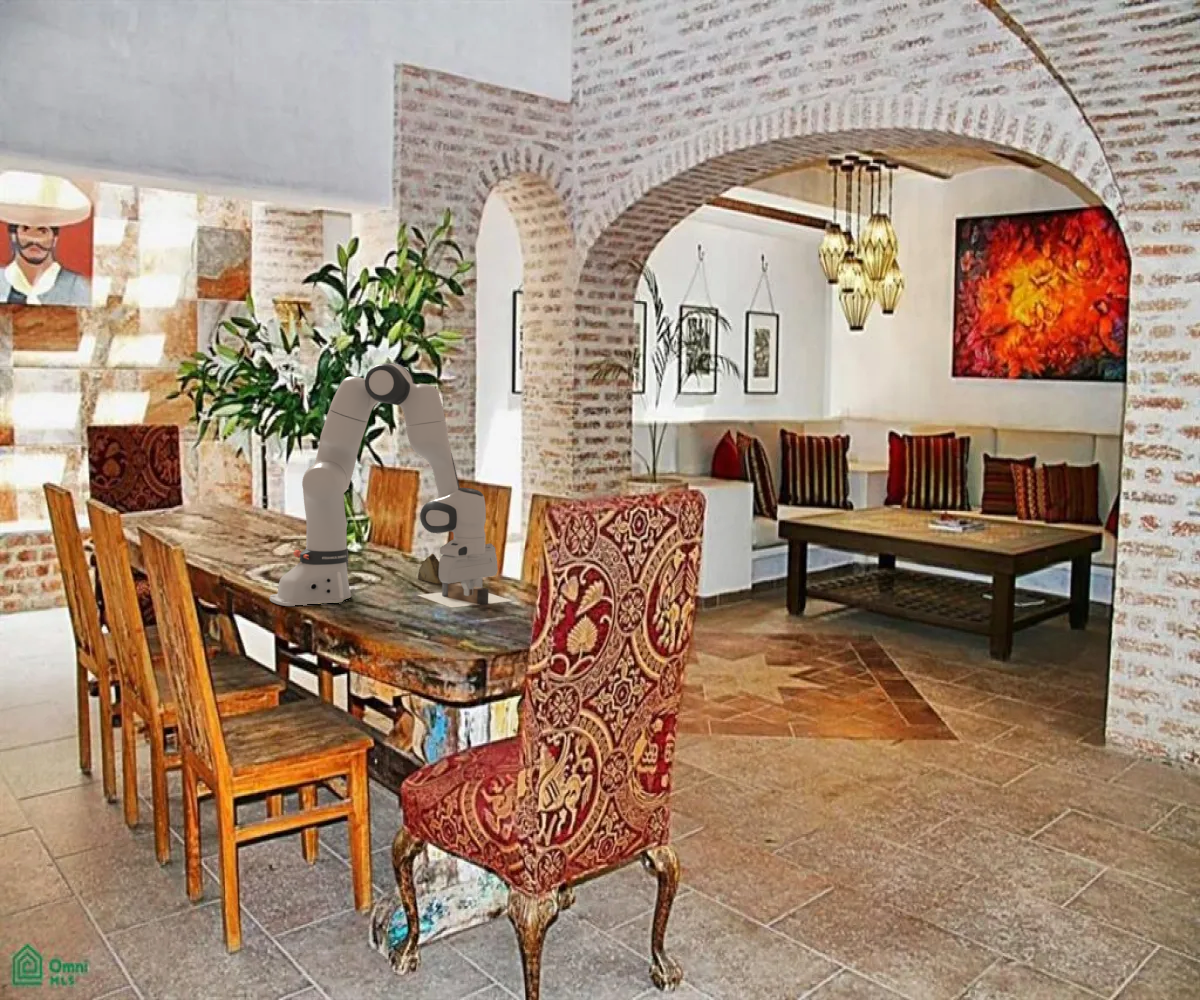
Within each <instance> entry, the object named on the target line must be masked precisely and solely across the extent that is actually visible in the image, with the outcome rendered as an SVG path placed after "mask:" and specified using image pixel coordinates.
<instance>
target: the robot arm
mask: <svg viewBox="0 0 1200 1000" xmlns="http://www.w3.org/2000/svg"><path fill="white" fill-rule="evenodd" d="M332 398H333V399H332V401H331V403H330V406H329V409H328V412H327V414H326V418H325V421H324V425H323V426H322V427H323V428H322V430H321V432H320V439H319V446H318V449H317V455H316V458H315V461H314V464H313V465H311V466H309V468H307V470H306V471H305V472H304V474H303V477H302V482H301V483H302V494H303V503H304V505H303V506H304V510H305V511H304V513H305V520H306V521H305V522H306V528H305V529H306V535H305V536H306V538H305V539H306V541H305V542H306V544H305V545H306V548H305V549H304V550H299V549H295V550H294V552H293V553H292V554H293V555H294V557H295V558H299V562H298V563H297V564H296V565H295V566H294V567H292V568H291V569H289V571H287V572H286V573H285V574H283V575H282V576H281V577H280V579H279V582H278V588H277V593H275V594H274V593H273V594H270V595H269V601H270V602H271V603H274V604H276V605H280V606H285V607H296V606H295V605H303V606H308V605H307V604H318V603H332V602H342V601H343V600H344V599H347V598H350V597H351V596H352V593H351V589H350V588H351V587H350V585H349V576H348V567H349V550H348V548H347V517H346V508H345V498H344V496H345V495H344V493H346V491H347V490H348V489H349V486H350V484H351V481H352V477H353V475H354V470H355V466H356V463H357V457H358V454H359V449H360V446H361V444H362V440H363V438H364V435H365V431H366V428H367V425H368V422H369V418H370V416H371V413H372V410H373V409H374V407H375V405H377V404H378V403H382V404H389V405H396V406H399V407H400V408H401V409H402V412H403V416H404V421H405V429H406V434H407V439H408V442H409V444H410V447H411V449H412V450H413V451H414V453H416V454H417V455H419V456H420V457H422V458H423V459H424V460H425V461H427V463H428V464H429V465H430V467H431V469H432V472H433V477H434V482H435V486H436V489H437V498H436V499H431V500H429V501H428V502H426V503H425V504H424V505H423V506H422V508H421V509H420V512H419V514H420V515H419V519H420V522H421V523H420V524H421V525H422V527H423V529H425V530H426V531H428V532H429V533H432V534H443V533H448V532H452V533H453V539H451V540H450V541H448V542H447V543H446V544H443V545H441V547H440V548H439V553H440V555H441V556H440V558H439V560H438V561H439V579H440V581H441V582H443V583H461V585H462V587H463V589H464V595H465V596H469V595H473V589H474V587H475V585H476V583H477V579H478V578H489V577H494V576H497V573H498V570H499V569H498V557H497V553H496V546H495V545H493V544H492V543H486V532H485V525H486V521H487V517H486V515H487V513H486V512H487V511H486V510H487V509H486V500H485V496H484V494H483V493H482V492H481V491H479V490H478V489H474V488H470V487H460V485H459V484H460V483H459V479H458V475H457V470H456V465H455V461H454V456H453V454H452V451H451V444H450V441H449V434H448V433H449V432H448V428H447V422H446V417H445V410H444V407H443V403H442V399H441V397H440V395H439V392H438V389H437V388H436V387H434V386H433V385H431V384H427V383H415V380H414V376H413V375H412V373H411V372H410V371H409V370H408V369H407V368H406V367H404V366H402V365H399V364H397V363H391V362H389V363H379V364H376V365H374V366H373V367H371V368H370V369H369V371H367V373H366V375H365V378H364V377H359V376H348V377H345V378H344V379H342V381H341V382H340V384H339V386H338V388H337V390H336V392H335V394H334V395H333V397H332Z"/></svg>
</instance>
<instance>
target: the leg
mask: <svg viewBox="0 0 1200 1000" xmlns="http://www.w3.org/2000/svg"><path fill="white" fill-rule="evenodd" d="M488 593H489V588H484V587H482V588H481V587H476V586H475V587H474V589H473V595H469V596H465V595H464V589H463V587H462V585H461V582H455V583H450V584H448V598H453V599H457V600H462V601H467V602H471V603H476V604H481V605H489V604H488Z"/></svg>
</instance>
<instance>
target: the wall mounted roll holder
mask: <svg viewBox="0 0 1200 1000" xmlns="http://www.w3.org/2000/svg"><path fill="white" fill-rule="evenodd" d="M448 584H450V583H443V582H442V583H441V592H434V593H424V594H417V596H418V597H421V598H423V599H426V600H429V601H432V602H435V603H436V604H437V603H438V604H440V605H443V606H446V607H448V608H461V607H470V606H480V605H482V604H476V603H471V602H467V601H462V600H457V599H453V598H448ZM475 586H476V587H481V588H483V578H478V579H477V583H476V585H475ZM507 602H508V603H509V602H513V600H512V599H510V598H509V599H508V598H505V597H502V596H499V595H496V594H493V593H490V592H488V604H487V605H490V604H498V603H507Z"/></svg>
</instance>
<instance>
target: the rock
mask: <svg viewBox="0 0 1200 1000" xmlns="http://www.w3.org/2000/svg"><path fill="white" fill-rule="evenodd" d="M439 561H440V560H439V559H438V558H437V557H436V554H434V553H431V554H430V555H429V556H427V557H426V559H424V561H422V563H421V564H420V567H419V569H418V574H417V580H421V581H425V582H428V583H432V584H437V585H439V584H442V582H441V581H440V579H439Z"/></svg>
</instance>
